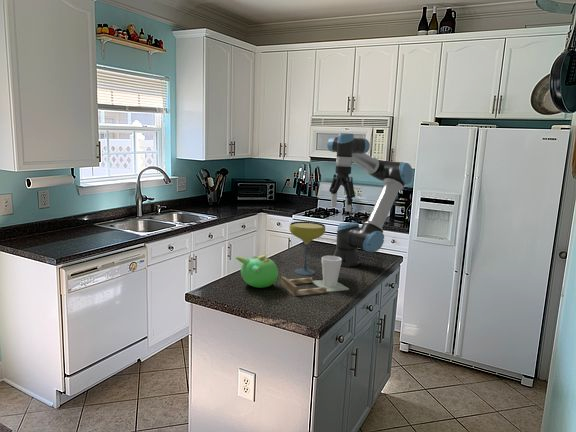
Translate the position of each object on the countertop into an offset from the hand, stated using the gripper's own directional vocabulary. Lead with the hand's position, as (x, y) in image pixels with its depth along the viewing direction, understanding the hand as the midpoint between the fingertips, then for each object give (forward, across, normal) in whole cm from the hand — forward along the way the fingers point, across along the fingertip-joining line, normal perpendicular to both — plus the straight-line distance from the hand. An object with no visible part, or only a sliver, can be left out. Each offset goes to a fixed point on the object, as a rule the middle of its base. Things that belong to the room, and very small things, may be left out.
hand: (340, 209), depth 218 cm
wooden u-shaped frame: (+35, +12, -24) cm, 44 cm away
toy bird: (+35, +3, -43) cm, 55 cm away
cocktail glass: (+35, -11, -12) cm, 39 cm away
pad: (+35, +12, -10) cm, 38 cm away
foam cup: (+34, +11, -10) cm, 38 cm away
